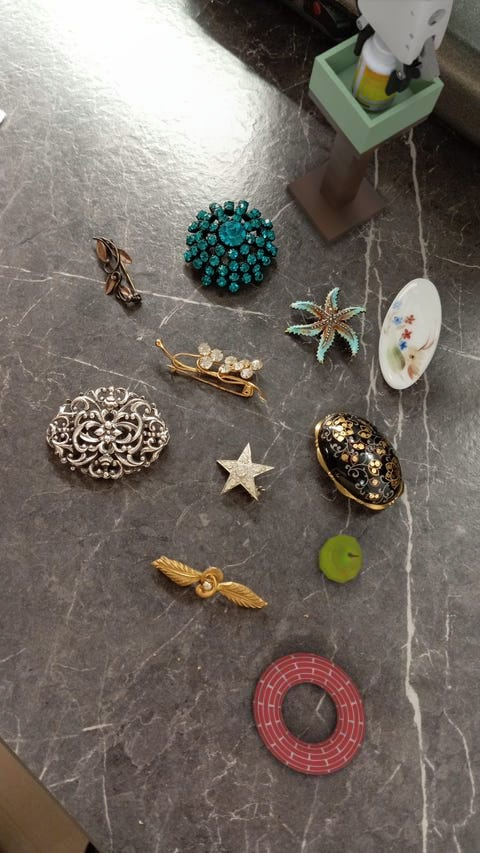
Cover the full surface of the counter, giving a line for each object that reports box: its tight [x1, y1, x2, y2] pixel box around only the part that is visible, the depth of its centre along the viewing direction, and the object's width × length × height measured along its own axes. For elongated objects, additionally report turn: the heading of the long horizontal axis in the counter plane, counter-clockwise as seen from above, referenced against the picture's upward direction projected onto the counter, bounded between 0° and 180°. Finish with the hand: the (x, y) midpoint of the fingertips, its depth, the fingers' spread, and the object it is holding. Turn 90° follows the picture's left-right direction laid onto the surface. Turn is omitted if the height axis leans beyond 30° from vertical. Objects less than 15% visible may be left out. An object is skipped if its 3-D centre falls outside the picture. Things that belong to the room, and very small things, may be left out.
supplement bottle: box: [352, 32, 397, 111], centre depth 107 cm, size 6×6×10 cm
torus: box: [252, 652, 367, 776], centre depth 118 cm, size 16×14×4 cm
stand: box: [285, 88, 430, 246], centre depth 126 cm, size 11×11×26 cm
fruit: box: [318, 533, 364, 584], centre depth 119 cm, size 6×6×12 cm
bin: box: [308, 32, 445, 154], centre depth 111 cm, size 11×11×6 cm
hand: (380, 68), depth 107 cm, fingers closed on supplement bottle, 5 cm apart
